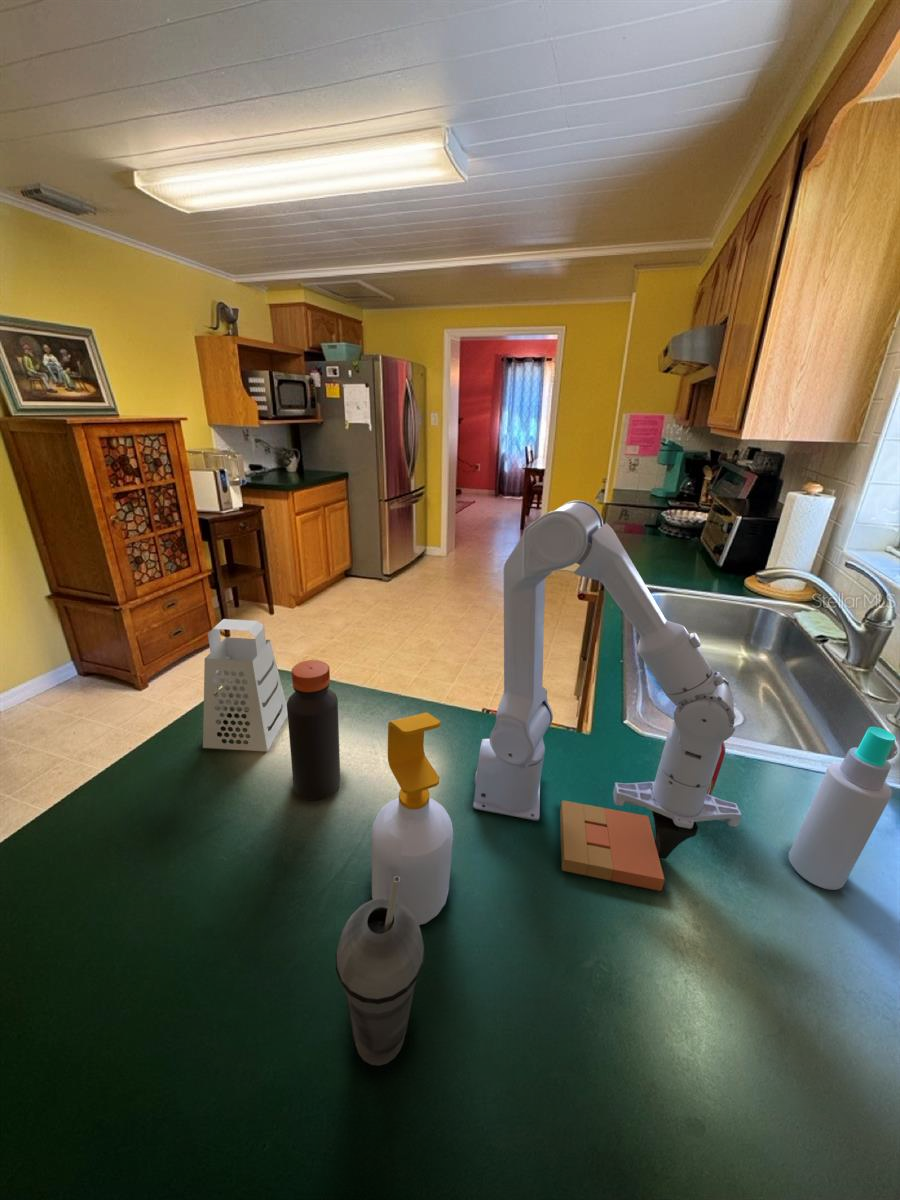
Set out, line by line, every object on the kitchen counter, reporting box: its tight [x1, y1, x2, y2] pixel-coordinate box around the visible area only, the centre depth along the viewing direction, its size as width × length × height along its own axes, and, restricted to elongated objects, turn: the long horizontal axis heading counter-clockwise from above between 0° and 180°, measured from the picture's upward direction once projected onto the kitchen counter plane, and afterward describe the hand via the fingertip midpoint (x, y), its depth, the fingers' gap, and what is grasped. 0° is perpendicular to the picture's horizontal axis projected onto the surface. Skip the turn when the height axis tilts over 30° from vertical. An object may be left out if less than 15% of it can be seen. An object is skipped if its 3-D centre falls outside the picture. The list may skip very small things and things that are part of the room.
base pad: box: [559, 799, 614, 881], centre depth 63 cm, size 6×10×2 cm, turn 169°
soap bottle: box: [371, 712, 454, 926], centre depth 51 cm, size 9×9×25 cm
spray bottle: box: [788, 726, 897, 891], centre depth 58 cm, size 6×6×22 cm
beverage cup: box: [335, 876, 426, 1066], centre depth 39 cm, size 7×7×20 cm
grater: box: [202, 618, 288, 752], centre depth 78 cm, size 10×10×20 cm
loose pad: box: [585, 807, 666, 892], centre depth 63 cm, size 9×10×2 cm
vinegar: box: [286, 659, 341, 801], centre depth 67 cm, size 7×7×20 cm
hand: (660, 852), depth 62 cm, fingers closed
